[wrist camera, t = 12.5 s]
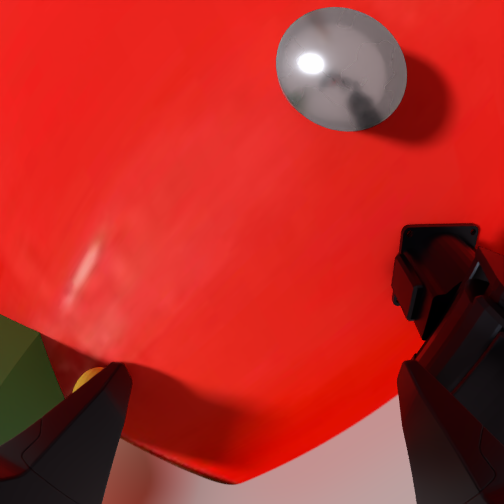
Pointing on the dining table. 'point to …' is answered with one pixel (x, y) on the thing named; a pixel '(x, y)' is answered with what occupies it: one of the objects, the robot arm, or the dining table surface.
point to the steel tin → (341, 69)
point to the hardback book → (24, 379)
